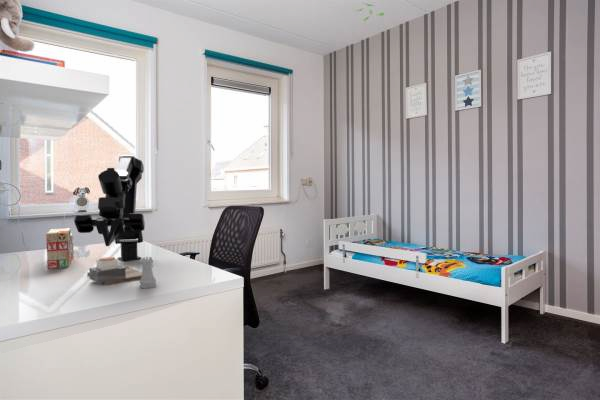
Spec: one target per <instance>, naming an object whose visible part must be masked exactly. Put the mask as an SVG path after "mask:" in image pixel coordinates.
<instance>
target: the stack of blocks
mask: <svg viewBox="0 0 600 400" xmlns="http://www.w3.org/2000/svg"><path fill="white" fill-rule="evenodd" d="M73 236H74V235H73V233H72V232H71V227H69V228H68V227H67V228H51V229H49V231H47V233H45V237H46V255H47V259H46V262H47V266H46V267H47V270H52V269H61V268H62V269H63V268H69V267H70V266H71V264H72V260H73V259H74V257H75V256H74V255H75V254H74V252H75V251H74V237H73Z"/></svg>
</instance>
